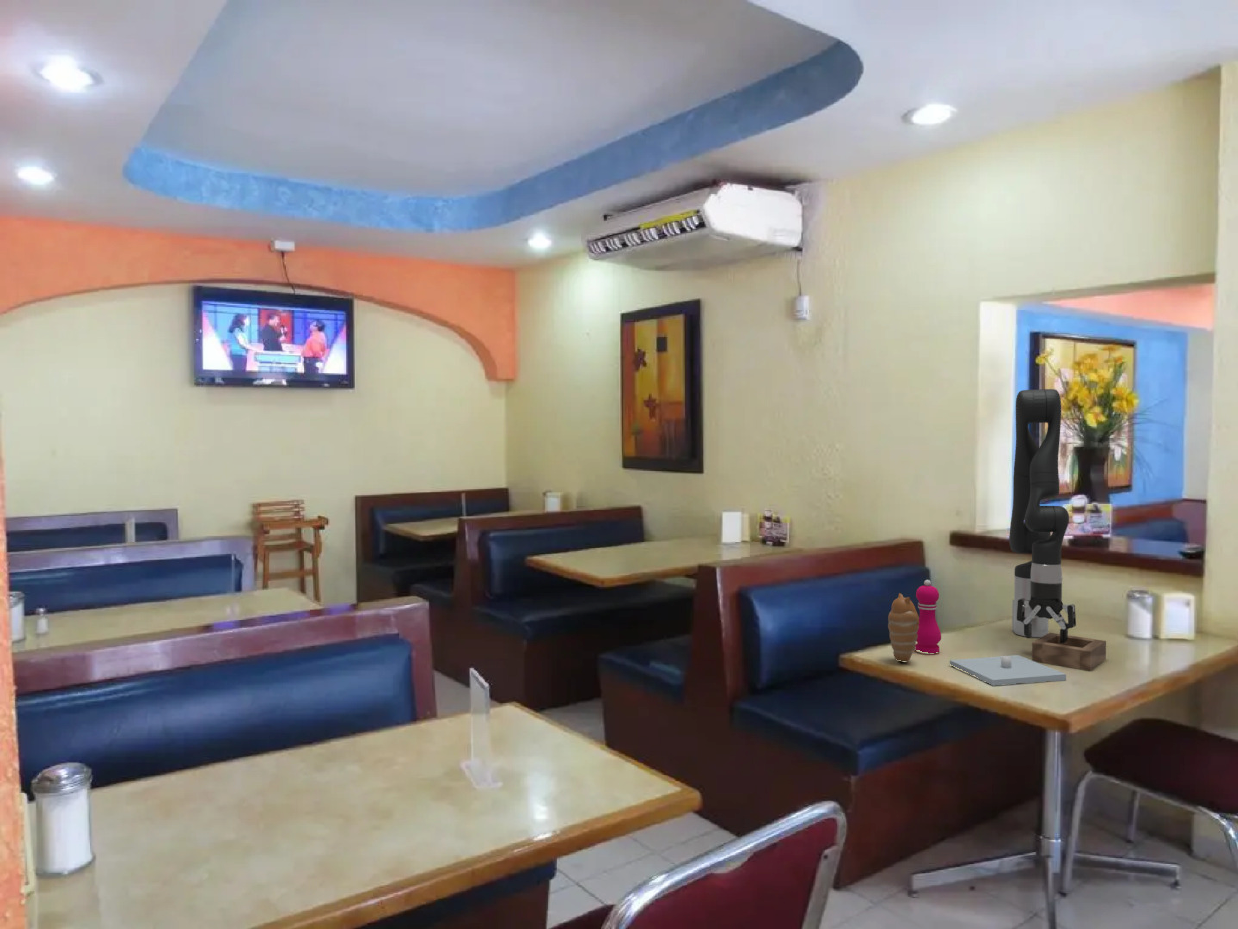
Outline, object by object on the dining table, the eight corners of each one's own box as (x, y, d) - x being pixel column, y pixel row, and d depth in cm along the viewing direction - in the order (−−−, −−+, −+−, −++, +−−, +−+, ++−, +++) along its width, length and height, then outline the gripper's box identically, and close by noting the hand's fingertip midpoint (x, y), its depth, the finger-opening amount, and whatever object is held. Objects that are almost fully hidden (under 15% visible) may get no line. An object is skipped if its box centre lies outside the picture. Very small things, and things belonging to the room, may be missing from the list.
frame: (1032, 661, 229) (1032, 642, 229) (1049, 650, 239) (1049, 632, 239) (1090, 671, 220) (1090, 651, 219) (1105, 659, 230) (1106, 641, 229)
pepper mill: (920, 646, 245) (921, 576, 244) (945, 651, 240) (946, 579, 239) (908, 651, 240) (908, 580, 239) (933, 656, 235) (934, 583, 234)
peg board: (949, 665, 226) (949, 650, 226) (1017, 660, 230) (1018, 645, 230) (992, 686, 208) (993, 669, 208) (1065, 680, 212) (1066, 664, 212)
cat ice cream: (924, 666, 226) (925, 597, 225) (896, 667, 225) (896, 598, 224) (908, 657, 235) (908, 591, 234) (881, 658, 233) (881, 592, 232)
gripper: (1013, 579, 234) (1013, 638, 235) (1070, 584, 225) (1070, 647, 225) (1023, 575, 240) (1022, 634, 240) (1079, 581, 230) (1078, 642, 230)
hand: (1045, 640), depth 233 cm, fingers open, 8 cm apart
